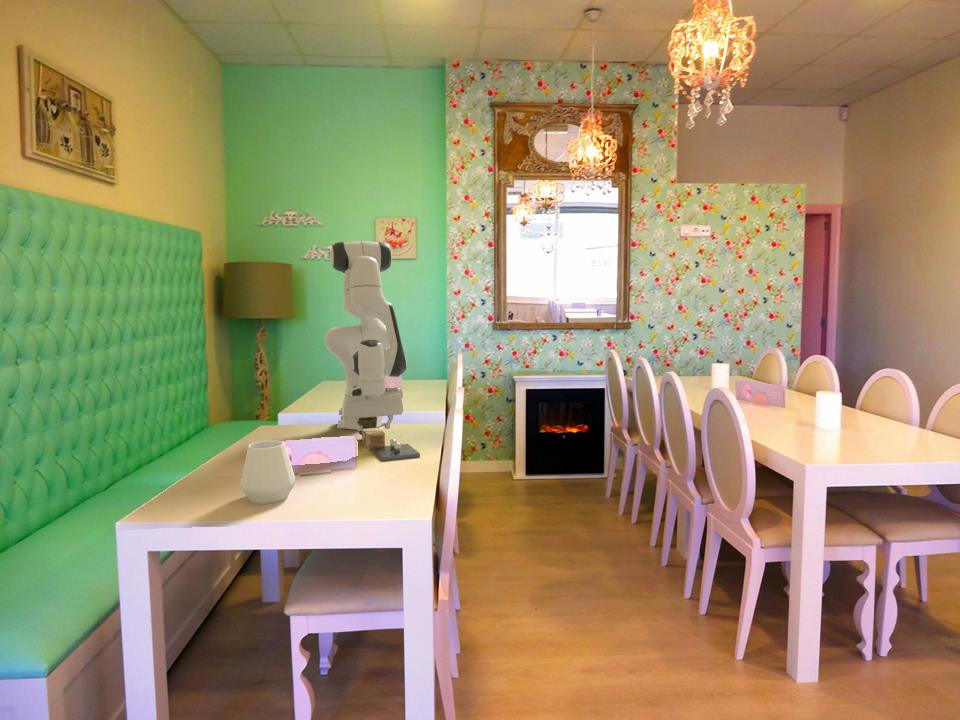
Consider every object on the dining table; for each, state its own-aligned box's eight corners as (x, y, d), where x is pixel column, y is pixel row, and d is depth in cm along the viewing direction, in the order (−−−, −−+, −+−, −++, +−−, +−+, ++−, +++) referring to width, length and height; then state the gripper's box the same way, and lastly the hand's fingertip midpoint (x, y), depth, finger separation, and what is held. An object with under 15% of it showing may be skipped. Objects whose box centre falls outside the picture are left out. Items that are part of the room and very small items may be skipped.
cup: (375, 441, 225) (375, 419, 224) (354, 442, 225) (353, 419, 225) (379, 437, 233) (378, 415, 232) (358, 437, 233) (358, 415, 232)
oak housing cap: (362, 443, 223) (361, 428, 223) (378, 441, 226) (377, 427, 225) (368, 449, 214) (368, 434, 214) (385, 448, 216) (384, 433, 216)
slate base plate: (372, 450, 213) (371, 438, 212) (407, 447, 217) (407, 435, 217) (382, 461, 200) (382, 448, 199) (420, 457, 204) (419, 444, 204)
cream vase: (231, 498, 165) (228, 444, 164) (278, 486, 175) (276, 435, 173) (257, 510, 156) (254, 453, 155) (306, 496, 166) (304, 443, 164)
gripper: (400, 385, 224) (401, 425, 225) (340, 389, 217) (341, 430, 218) (405, 387, 218) (406, 428, 220) (343, 392, 211) (345, 434, 212)
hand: (373, 429), depth 219 cm, fingers open, 8 cm apart
